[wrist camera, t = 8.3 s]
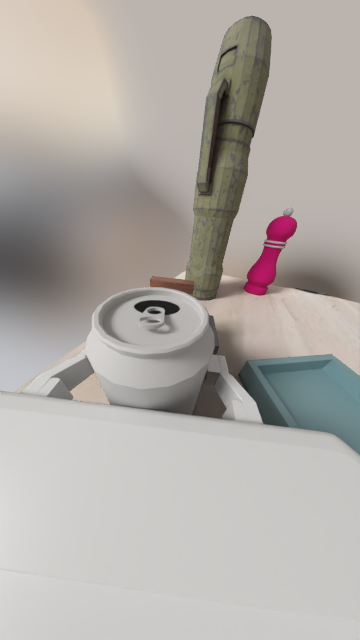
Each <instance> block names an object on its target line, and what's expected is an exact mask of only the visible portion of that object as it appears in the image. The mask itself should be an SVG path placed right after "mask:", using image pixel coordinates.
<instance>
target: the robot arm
mask: <svg viewBox="0 0 360 640" xmlns="http://www.w3.org/2000/svg"><path fill="white" fill-rule="evenodd" d="M93 373H94V370H93V368H92V366H91V364H90V362H89V360H88V358H87V356H86V347H85V348H84V349H83V350H82V351H81V353H80V354H79V355H78V356H74V357H72V358H70V359H68V360H66V361H65V362H63V363H61V364H59V365H57V366H55V367H53V368H51V369H49V370H47V371H45V372H43V373H41V374H39V375H38V376H37V377H36V378H35V379H34V380H33V381H32V382H31V383H30V384H29V385H28V386H27V387H26V388H25V389H24V390H23V391H22V392H21V393H13V392H5V391H0V640H360V455H359V454H358V453H357V452H355V451H354V450H353V449H352V448H351V447H350V446H348V445H347V444H346V443H345V442H343V441H342V440H341V439H340V438H338V437H337V436H336V435H334V434H331V433H328V432H322V431H314V430H306V429H298V428H290V427H282V426H274V425H266V424H263V422H262V419H261V416H260V413H259V410H258V407H257V404H256V402H255V401H254V400H253V399H252V397H251V396H250V395H249V394H248V393H247V392H246V391H245V389H244V388H243V387H242V386H241V385H240V384H239V383H238V382H237V380H236V379H235V378H234V377H233V376H232V375H231V374H229V371H228V367H227V362H226V358H225V356H221V355H213V354H212V357H211V360H210V363H209V366H208V369H207V372H206V375H205V378H204V380H203V385H207V386H213V387H214V388H215V390H216V392H217V393H218V395H219V396H220V398H221V400H222V401H223V403H224V405H225V406H226V408H227V410H226V411H225V413H224V414H223V415H222V419H219V418H211V417H203V416H195V415H187V414H179V413H171V412H164V411H156V410H148V409H140V408H132V407H124V406H116V405H108V404H100V403H92V402H84V401H77V400H72V399H73V395H72V394H71V393H70V391H71V390H72V389H73V388H75V387H76V386H77V385H78V384H80V383H81V382H82V381H84V380H85V379H86V378H88V377H89V376H90V375H91V374H93Z"/></svg>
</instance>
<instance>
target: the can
mask: <svg viewBox="0 0 360 640" xmlns="http://www.w3.org/2000/svg"><path fill="white" fill-rule="evenodd" d="M214 348H215V344H214V333H213V331H212V329H211V327H210V325H209V314H208V312H207V310H206V308H205V306H204V305H203V304H202V303H200V302H199V301H198V300H197V299H196V298H194V297H192V296H190V295H188V294H187V293H184V292H181V291H178V290H174V289H168V288H161V287H145V288H136V289H131V290H127V291H124V292H121V293H118V294H116V295H114V296H111V297H109V298H108V299H107V300H106V301H104V302H103V303H101V304H100V305H99V306H98V307H97V309H96V311H95V312H94V314H93V316H92V330H91V332H90V334H89V336H88V337H87V344H86V356H87V358H88V360H89V362H90V364H91V366H92V368H93V370H94V372H95V374H96V376H97V378H98V380H99V382H100V384H101V386H102V388H103V390H104V392H105V394H106V397H107V399H108V401H109V403H110V405H116V406H124V407H132V408H140V409H148V410H156V411H164V412H171V413H179V414H187V415H192V413H193V410H194V407H195V404H196V401H197V398H198V395H199V392H200V389H201V386H202V383H203V380H204V378H205V375H206V372H207V369H208V366H209V363H210V360H211V357H212V354H213V351H214Z"/></svg>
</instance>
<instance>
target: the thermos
mask: <svg viewBox="0 0 360 640" xmlns="http://www.w3.org/2000/svg"><path fill="white" fill-rule="evenodd" d="M271 39H272V37H271V29H270V28H269V26H268V24H267V23H266V22H265V21H264V20H262V19H261V18H259V17H255V16H250V17H245V18H243V19H241V20H239V21H237V22H235V23H234V24H233V25H232V26H231V27H230V28H229V29H228V31H227V32H226V34H225V36H224V39H223V42H222V45H221V49H220V52H219V55H218V59H217V62H216V66H215V70H214V73H213V77H212V82H211V88H210V90H209V93H208V95H207V98H206V106H205V114H204V115H205V116H204V124H203V132H202V142H201V151H200V159H199V169H198V172H197V179H196V188H195V198H194V207H193V210H194V215H195V218H194V227H193V235H192V245H191V252H190V260H189V262H188V265H187V268H186V277H185V280H191V281H194V290H193V294H188V295H190V296H192V297H194V298H196V299H197V300H211V299H214V298H215V296H216V291H217V289H218V287H219V284H220V280H221V276H222V272H223V268H222V263H223V259H224V255H225V251H226V247H227V243H228V239H229V235H230V231H231V227H232V223H233V220H234V218H235V216H236V215H237V213H238V210H239V206H240V202H241V198H242V195H243V190H244V187H245V183H246V179H247V176H248V157H249V153H250V143H251V139H252V138H253V136H254V133H255V128H256V124H257V120H258V116H259V113H260V109H261V105H262V101H263V97H264V92H265V89H266V84H267V81H268V77H269V67H270V55H271Z"/></svg>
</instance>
